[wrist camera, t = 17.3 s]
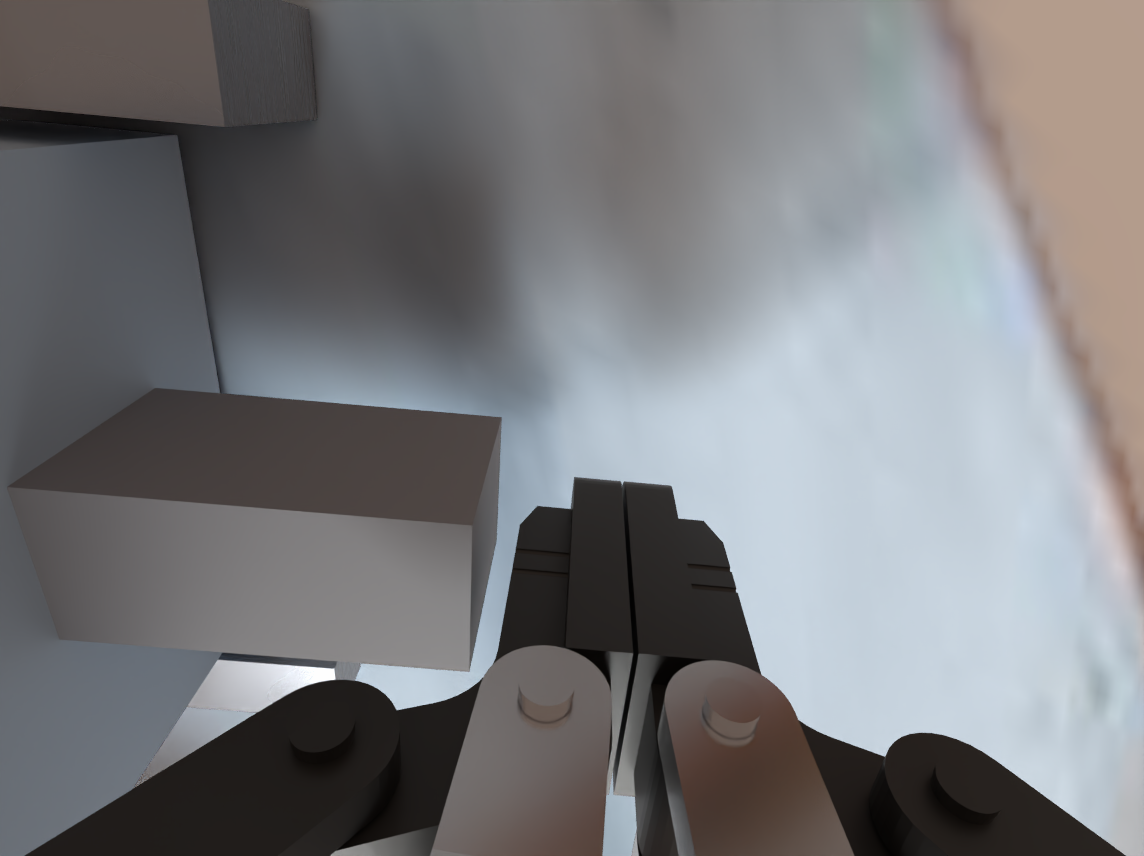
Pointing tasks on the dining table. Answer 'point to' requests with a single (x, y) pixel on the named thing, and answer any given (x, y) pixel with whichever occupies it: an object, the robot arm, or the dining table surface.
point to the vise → (183, 95)
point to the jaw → (185, 490)
